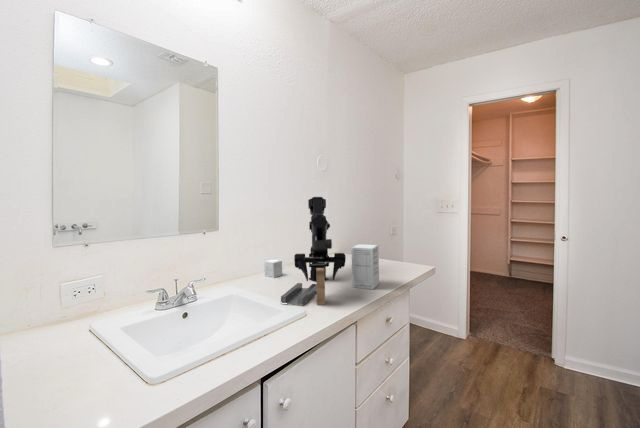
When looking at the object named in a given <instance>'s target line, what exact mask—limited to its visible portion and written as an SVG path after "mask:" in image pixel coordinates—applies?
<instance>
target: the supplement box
mask: <svg viewBox="0 0 640 428" xmlns="http://www.w3.org/2000/svg"><path fill="white" fill-rule="evenodd" d="M379 250H380V249H379V245H378V244H362V243H360V244H355V245H354V246H352V247H351V287H352V288H357V289H358V288H359V289H366V290H374V289H376V288H377V287H378V285H380V267H379V265H380V264H379V263H380V262H379V261H380V258H379V254H380V253H379V252H380V251H379Z"/></svg>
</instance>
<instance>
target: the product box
mask: <svg viewBox="0 0 640 428" xmlns="http://www.w3.org/2000/svg"><path fill="white" fill-rule="evenodd" d="M280 276H283V260H281V259H276V258H275V259H268V260H264V277H265V278H272V279H275V278H279V277H280Z"/></svg>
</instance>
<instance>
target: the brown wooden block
mask: <svg viewBox="0 0 640 428" xmlns="http://www.w3.org/2000/svg"><path fill="white" fill-rule="evenodd" d="M316 279H317V281H316V284H317V291H316V305H317V306H325V305H326V280H325V270H324V268H316Z"/></svg>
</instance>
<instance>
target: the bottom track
mask: <svg viewBox="0 0 640 428" xmlns="http://www.w3.org/2000/svg"><path fill="white" fill-rule="evenodd" d="M315 293H317V283H312V284H311V285H309V287H307V288H305V287H303V282H302V283H301V282H297V283H296V284H294V286H292V287H291V288H290V289H288V290H287V291H286V292H285V293H284V294H282V295H281V296H280V303H281V302H282V303H287V304H286V305H288V304H292V305H291V306H304V305H305V304H306V302H308V301H309V300H310V298H312V296H313V295H314V294H315Z"/></svg>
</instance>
